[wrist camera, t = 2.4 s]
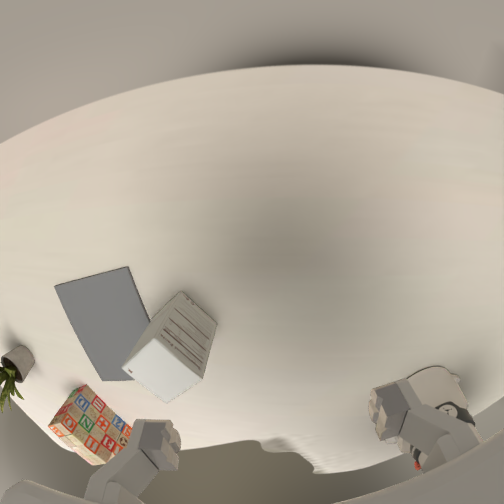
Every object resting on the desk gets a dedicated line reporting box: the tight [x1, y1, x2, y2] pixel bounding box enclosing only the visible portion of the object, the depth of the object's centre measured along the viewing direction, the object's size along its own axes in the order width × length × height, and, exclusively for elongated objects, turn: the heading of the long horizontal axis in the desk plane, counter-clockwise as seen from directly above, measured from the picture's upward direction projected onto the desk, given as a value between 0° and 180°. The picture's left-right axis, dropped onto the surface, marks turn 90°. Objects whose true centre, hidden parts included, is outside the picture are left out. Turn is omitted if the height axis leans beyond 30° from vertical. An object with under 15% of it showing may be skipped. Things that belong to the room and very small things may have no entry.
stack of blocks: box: [48, 385, 132, 465], centre depth 45 cm, size 21×6×12 cm, turn 33°
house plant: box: [0, 345, 34, 412], centre depth 39 cm, size 14×14×16 cm
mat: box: [54, 267, 150, 381], centre depth 43 cm, size 20×16×1 cm
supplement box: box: [122, 291, 217, 403], centre depth 36 cm, size 7×7×13 cm
